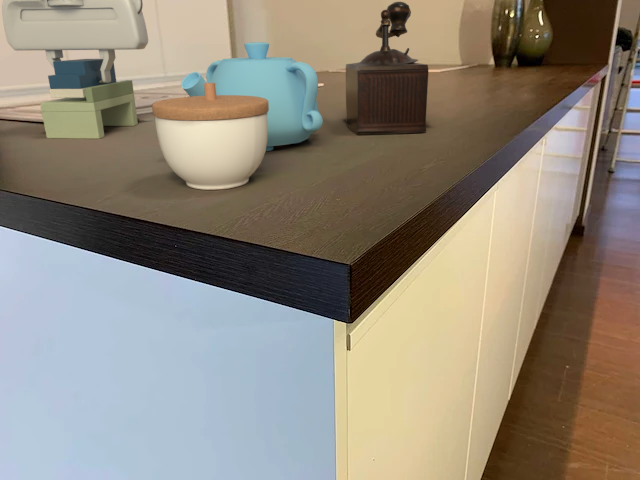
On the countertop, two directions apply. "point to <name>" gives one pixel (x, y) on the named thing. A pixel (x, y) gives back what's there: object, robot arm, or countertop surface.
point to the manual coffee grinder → (387, 84)
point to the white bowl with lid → (212, 137)
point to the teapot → (268, 90)
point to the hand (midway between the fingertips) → (85, 82)
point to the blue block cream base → (75, 77)
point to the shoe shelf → (91, 112)
